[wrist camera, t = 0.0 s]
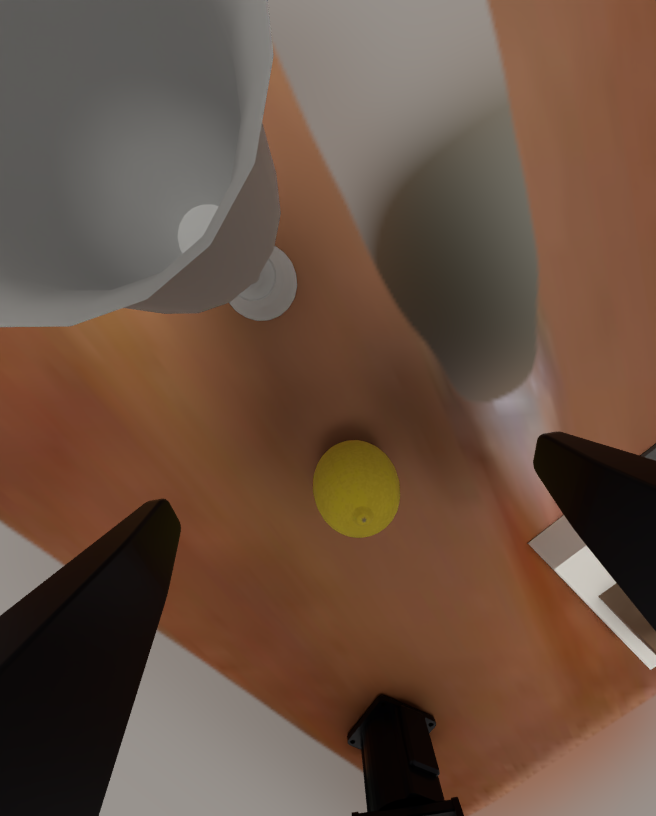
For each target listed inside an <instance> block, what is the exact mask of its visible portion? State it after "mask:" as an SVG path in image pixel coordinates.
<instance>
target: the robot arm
mask: <svg viewBox="0 0 656 816" xmlns="http://www.w3.org/2000/svg"><path fill="white" fill-rule="evenodd" d="M533 465H534V469H535V471H536V473H537V475H538V476H539V478H540V479H541V481H542V482H543V484H544V485H545V487H546V488H547V490H548V491H549V493H550V495H551V496H552V498H553V499H554V501H555V502H556V504H557V505H558V507H559V508H560V510H561V511H562V513H563V514H564V516H565V517H566V519H567V520H568V522H569V523H570V525H571V526H572V527H573V529H574V530H575V532H576V533H577V534H578V535H579V537H580V538H581V539H582V541H583V542H584V543H585V544H586V546H587V547H588V548H589V549H590V551H591V552H592V553H593V554H594V556H595V557H596V558H597V559H598V561H599V562H600V563H601V564H602V566H603V567H604V568H605V569H606V571H607V572H608V573H609V574H610V576H611V577H612V578H613V579H614V581H615V582H616V583H617V584H618V586H619V587H620V588H621V589H622V590H623V592H624V593H625V594H626V595H627V597H628V598H629V599H630V600H631V602H632V603H633V604H634V605H635V607H636V608H637V609H638V610H639V612H640V613H641V614H642V615H643V617H644V618H645V619H646V620H647V622H648V623H649V624H650V625H651V627H652V628H653V629H654V630H655V632H656V460H652V459H649V458H646V457H642V456H639V455H636V454H632V453H629V452H626V451H623V450H619V449H616V448H613V447H609V446H606V445H603V444H599V443H596V442H593V441H590V440H586V439H583V438H580V437H576V436H573V435H570V434H566V433H563V432H551V433H545V434H542V435H540V436H539V437H538V440H537V444H536V450H535V455H534V460H533ZM180 532H181V525H180V522H179V520H178V518H177V516H176V514H175V512H174V510H173V509H172V507H171V505H170V503H169V502H168V501H167V500H166V499H158V500H152V501H148V502H146V503H145V504H143V505H142V506H141V507H139V508H138V509H137V510H136V511H134V512H133V513H132V514H130V515H129V516H128V517H127V518H125V519H124V520H123V521H121V522H120V523H119V524H118V525H116V526H115V527H114V528H112V529H111V530H110V531H109V532H107V533H106V534H105V535H103V536H102V537H101V538H100V539H98V540H97V541H96V542H94V543H93V544H92V545H91V546H89V547H88V548H87V549H85V550H84V551H83V552H82V553H80V554H79V555H78V556H76V557H75V558H74V559H73V560H71V561H70V562H69V563H67V564H66V565H65V566H64V567H62V568H61V569H60V570H58V571H57V572H56V573H55V574H53V575H52V576H51V577H50V578H48V579H47V580H46V581H44V582H43V583H42V584H40V585H39V586H38V587H37V588H35V589H34V590H33V591H31V592H30V593H29V594H28V595H26V596H25V597H24V598H22V599H21V600H20V601H19V602H17V603H16V604H15V605H14V606H12V607H11V608H10V609H8V610H7V611H6V612H5V613H3V614H2V615H1V616H0V816H99V813H100V810H101V806H102V803H103V800H104V797H105V793H106V790H107V787H108V784H109V781H110V778H111V774H112V771H113V768H114V765H115V762H116V758H117V755H118V752H119V748H120V746H121V742H122V739H123V736H124V733H125V729H126V726H127V723H128V720H129V717H130V713H131V710H132V707H133V704H134V701H135V697H136V694H137V691H138V688H139V685H140V681H141V678H142V675H143V672H144V668H145V665H146V662H147V659H148V656H149V652H150V649H151V646H152V643H153V640H154V636H155V633H156V630H157V627H158V624H159V621H160V617H161V614H162V611H163V608H164V604H165V601H166V597H167V594H168V589H169V585H170V581H171V576H172V571H173V566H174V561H175V557H176V552H177V547H178V542H179V537H180ZM435 726H436V722H435V719H434V717H433V716H431V715H428V714H426V713H424V712H421V711H419V710H417V709H414V708H412V707H410V706H407V705H405V704H403V703H400V702H398V701H396V700H393V699H391V698H389V697H386V696H379V697H378V698H377V699H376V700H375V702H374V703H373V704H372V705H371V707H370V708H369V709H368V711H367V712H366V713H365V714H364V716H363V717H362V718H361V719H360V721H359V722H358V723H357V724H356V726H355V727H354V728H353V729H352V731H351V732H350V733H349V734H348V736H347V739H348V744H349V745H351V746H353V747H356V748H358V749H361V752H362V762H363V772H364V783H365V793H366V803H367V812H366V813H358V812H353V813H352V816H464V814H463V811H462V808H461V805H460V802H459V799H458V797H453V798H451V800H444V796H443V793H442V789H441V785H440V781H439V778H438V775H439V768H438V764H437V760H436V757H435V753H434V749H433V746H432V742H431V738H430V735H429V733H430V732H431V731H432V730H433V728H434V727H435Z"/></svg>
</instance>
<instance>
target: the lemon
mask: <svg viewBox="0 0 656 816" xmlns="http://www.w3.org/2000/svg"><path fill="white" fill-rule="evenodd" d="M313 494H314V498H315V502H316V505H317V508H318V510H319V512H320V513H321V515H322V517H323V519H324V520H325V521H326V522H327V523H328V524H329V525H330V526H331V527H332V528H333V529H334V530H336V531H337V532H339V533H341V534H343V535H346V536H349V537H356V538H362V537H369V536H372V535H374V534H377V533H379V532H380V531H382V530H383V529H385V528H386V527H387V525H388V524H389V523H390V522H391V521H392V520H393V518H394V516H395V514H396V512H397V510H398V505H399V501H400V484H399V479H398V476H397V473H396V470H395V467H394V465H393V464H392V462H391V461H390V459H389V458H388V457H387V455H386V454H385V453H384V452H382V451H381V450H380V449H379V448H378V447H376V446H374V445H372V444H370V443H368V442H364V441H359V440H348V441H344V442H341V443H338V444H336V445H334V446H333V447H331V448H330V449H329V450H328V451H327V452H326V453H324V454H323V456H322V457H321V459H320V461H319V462H318V464H317V466H316V470H315V473H314V477H313Z"/></svg>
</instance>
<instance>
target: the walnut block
mask: <svg viewBox="0 0 656 816" xmlns="http://www.w3.org/2000/svg"><path fill="white" fill-rule="evenodd" d="M598 597H599V598H600V599H601V600H602V601H603V602H604V603H605V604H606V605H607V606H608V607H609V609H610V610H611V611H612V612H613V613H614V614H615V615H616V616H617V617H618V618H619V619H620V620H621V621H622V622H623V623H624V624H625V625H626V626H627V628H628V629H629V630H630V631H631V632H632V633H633V634H634V635H635V636H636V637H637V638H638V639H640V640H641V641H642V642H643V643H644V644H645V645H646V646H647V647H648V648H649V649H650V650H651V651H652V652H653V653H654V654H655V655H656V632H655V630H654V629H653V628H652V627H651V625H650V624H649V623H648V622H647V620H646V619H645V618H644V617H643V615H642V614H641V613H640V612H639V610H638V609H637V608H636V607H635V605H634V604H633V603H632V602H631V600H630V599H629V598H628V597H627V595H626V594H625V593H624V592H623V590H622V589H621V588H620V587H619V586H618V584H617V583H616V584H615V585H613V586H612V587H610V588H609V589H608V590H606V591H605V592H603V593H602V594H601V595H599V596H598Z"/></svg>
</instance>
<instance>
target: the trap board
mask: <svg viewBox="0 0 656 816" xmlns="http://www.w3.org/2000/svg"><path fill="white" fill-rule="evenodd" d="M641 456H642V457H646V458H649V459H652V460H656V444H655V445H654V446H652V447H651V448H650V449H648V450H647V451H646V452H645V453H643V454H642V455H641ZM528 544H529V545H530V546H531V547H532V548H533V549H534V550H535V551H536V552H537V553H538V554H539V555H540V557H541V558H542V559H543V560H544V561H545V562H546V563H547V564H548V565H549V566H550V567H551V568H552V569H553V570H554V571H555V572H556V573H557V574H558V575H559V576H560V577H561V578H562V579H563V580H564V581H565V582H566V583H567V584H568V586H569V587H570V588H571V589H572V590H573V591H574V592H575V593H576V594H577V595H578V596H579V597H580V598H581V599H582V600H583V601H584V602H585V603H586V604H587V605H588V606H589V607H590V608H591V609H592V610H593V611H594V612H595V614H596V615H597V616H598V617H599V618H600V619H601V620H602V621H603V622H604V623H605V624H606V625H607V626H608V627H609V628H610V629H611V630H612V631H613V632H614V633H615V634H616V635H617V636H618V637H619V638H620V639H621V640H622V641H623V642H624V643H625V644H626V645H627V646H628V647H629V648H630V649H631V650H632V652H633V653H634V654H635V655H636V656H637V657H638V658H639V659H640V660H641V661H642V662H643V663H644V664H645V665H646V666H647V667H648V668H649V669H650V670H651V669H653V668H654V667H656V655H655V654H654V653H653V652H652V651H651V650H650V649H649V648H648V647H647V646H646V645H645V644H644V643H643V642H642V641H641V640H640V639H638V638H637V637H636V636H635V635H634V634H633V633H632V632H631V631H630V630H629V629H628V628H627V626H626V625H625V624H624V623H623V622H622V621H621V620H620V619H619V618H618V617H617V616H616V615H615V614H614V613H613V612H612V611H611V610H610V609H609V607H608V606H607V605H606V604H605V603H604V602H603V601H602V600H601V599H600V598H599V597H598V596H599V595H601V594H602V593H603V592H605V591H606V590H608V589H609V588H610V587H612V586H613V585H615V584H616V582H615V581H614V579H613V578H612V577H611V576H610V574H609V573H608V572H607V571H606V569H605V568H604V567H603V566H602V564H601V563H600V562H599V561H598V559H597V558H596V557H595V556H594V554H593V553H592V552H591V551H590V549H589V548H588V547H587V546H586V544H585V543H584V542H583V541H582V539H581V538H580V537H579V535H578V534H577V533H576V532H575V530H574V529H573V527H572V526H571V525H570V523H569V522H568V520H567V519H566V517H565V516H564V515H563V516H562V517H561V518H560V519H558V520H557V521H556V522H554V523H553V524H552V525H551V526H549V527H548V528H547V529H545V530H544V531H543V532H542V533H540V534H539V535H538V536H536V537H535V538H534V539H533V540H531V541H530V542H529V543H528Z"/></svg>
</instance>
